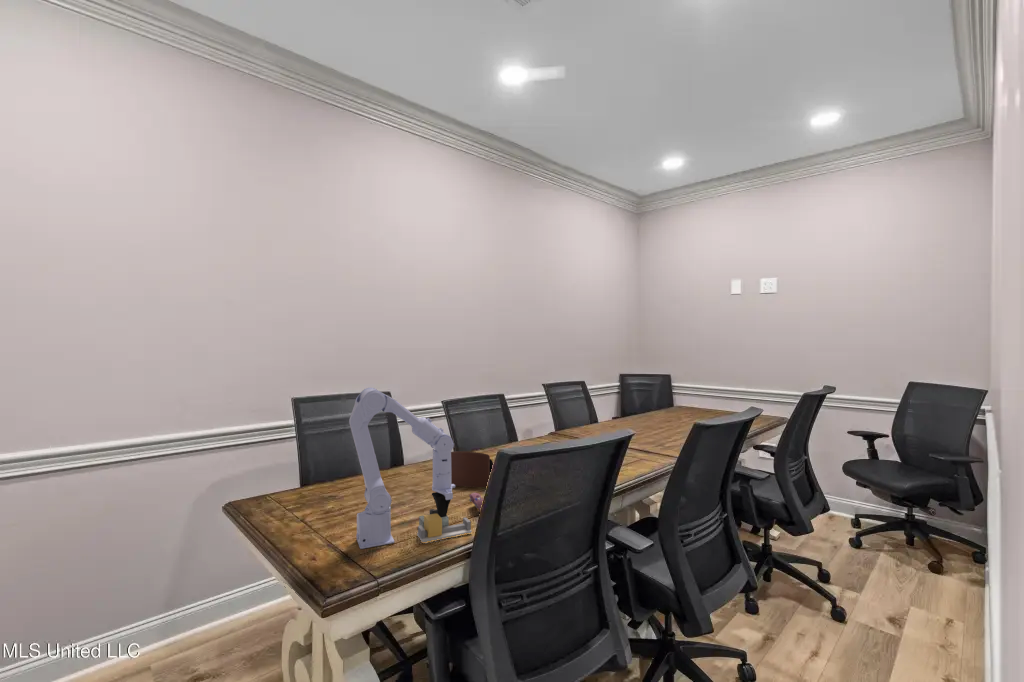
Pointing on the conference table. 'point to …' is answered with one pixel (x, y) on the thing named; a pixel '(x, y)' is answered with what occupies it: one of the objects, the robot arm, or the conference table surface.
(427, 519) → the carriage
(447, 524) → the lever base
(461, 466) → the letter holder
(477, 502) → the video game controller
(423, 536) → the rail
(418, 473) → the conference table surface
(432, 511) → the dark lever handle
